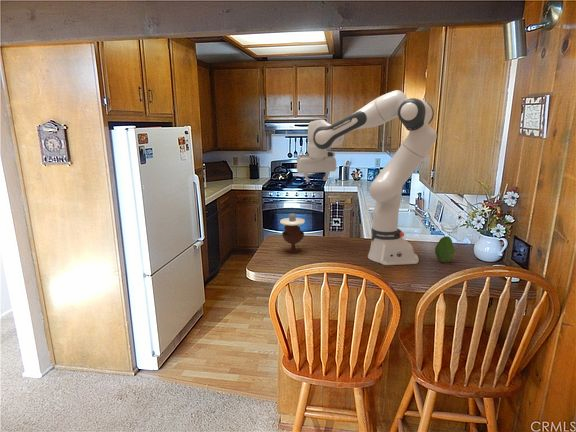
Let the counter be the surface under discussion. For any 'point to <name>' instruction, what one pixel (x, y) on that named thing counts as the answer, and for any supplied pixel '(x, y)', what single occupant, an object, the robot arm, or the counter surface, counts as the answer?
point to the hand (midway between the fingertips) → (316, 181)
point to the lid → (292, 220)
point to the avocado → (444, 249)
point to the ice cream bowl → (292, 236)
